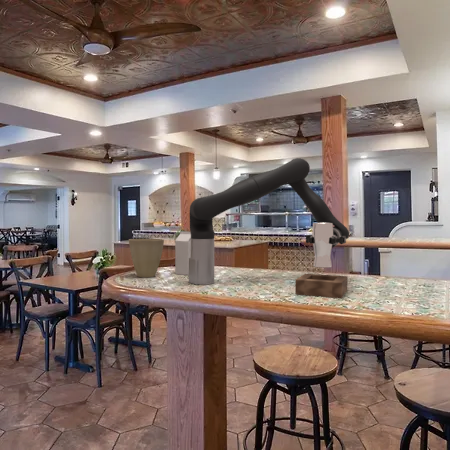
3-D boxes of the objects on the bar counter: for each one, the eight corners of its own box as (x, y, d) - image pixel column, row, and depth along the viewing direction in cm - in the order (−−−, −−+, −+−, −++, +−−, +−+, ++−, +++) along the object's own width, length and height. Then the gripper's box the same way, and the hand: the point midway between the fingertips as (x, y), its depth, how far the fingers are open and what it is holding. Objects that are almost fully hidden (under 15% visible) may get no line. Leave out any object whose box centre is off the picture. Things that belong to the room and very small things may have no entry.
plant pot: (160, 279, 161) (160, 240, 161) (124, 279, 161) (124, 240, 161) (166, 273, 176) (166, 238, 176) (133, 273, 176) (133, 238, 176)
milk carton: (187, 275, 172) (187, 232, 171) (175, 274, 175) (175, 231, 175) (197, 273, 178) (197, 231, 177) (184, 272, 181) (185, 231, 181)
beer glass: (333, 265, 137) (333, 222, 137) (332, 268, 131) (332, 223, 130) (313, 264, 140) (313, 222, 139) (311, 267, 133) (311, 223, 132)
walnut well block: (295, 294, 131) (295, 279, 131) (305, 287, 145) (305, 273, 145) (341, 298, 125) (341, 282, 125) (347, 290, 139) (347, 276, 139)
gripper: (310, 227, 151) (300, 229, 135) (349, 228, 145) (343, 230, 130) (310, 246, 151) (300, 251, 136) (349, 248, 145) (343, 252, 130)
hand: (321, 240), depth 133 cm, fingers closed on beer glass, 6 cm apart
